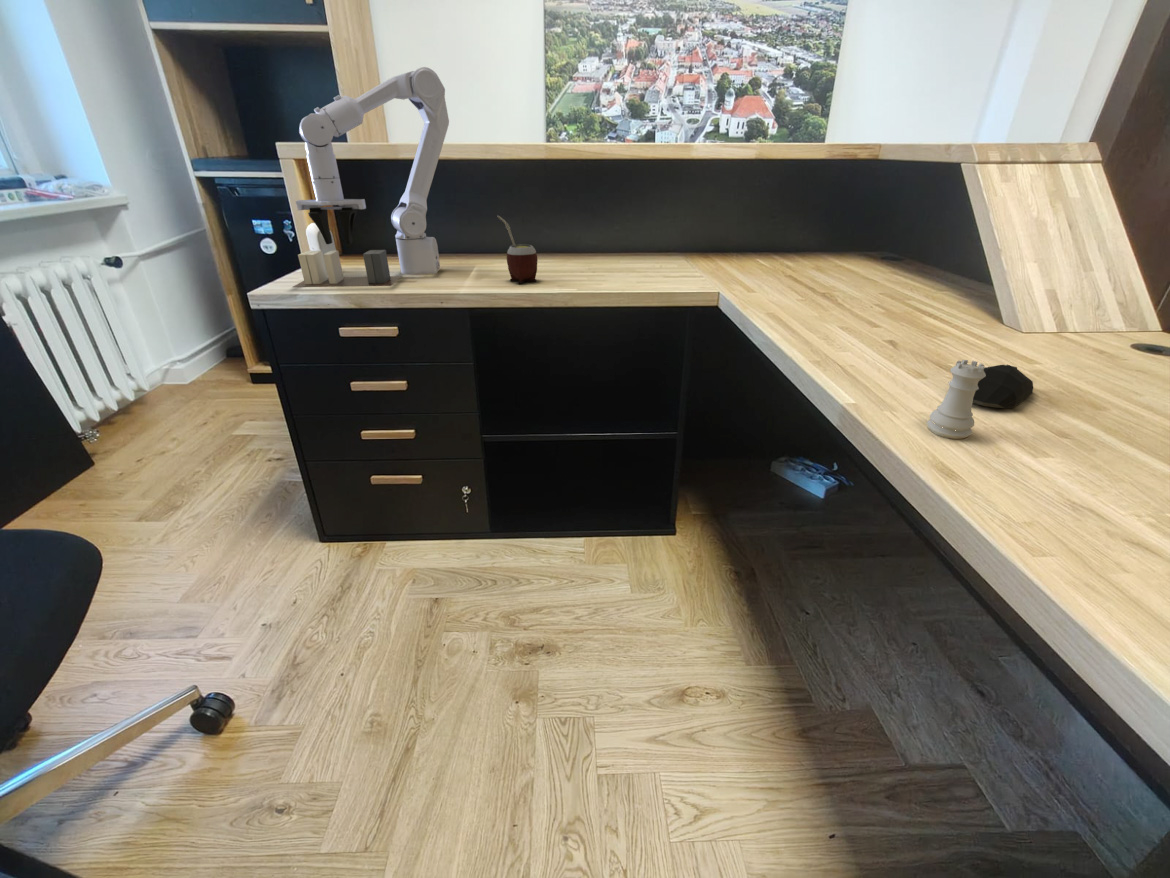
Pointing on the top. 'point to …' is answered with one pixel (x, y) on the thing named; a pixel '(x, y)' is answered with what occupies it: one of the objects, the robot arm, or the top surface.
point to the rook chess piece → (957, 402)
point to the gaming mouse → (1002, 387)
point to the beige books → (313, 267)
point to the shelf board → (351, 282)
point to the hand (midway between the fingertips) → (339, 243)
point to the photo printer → (318, 240)
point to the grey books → (376, 266)
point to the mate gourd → (521, 260)
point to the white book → (333, 267)
